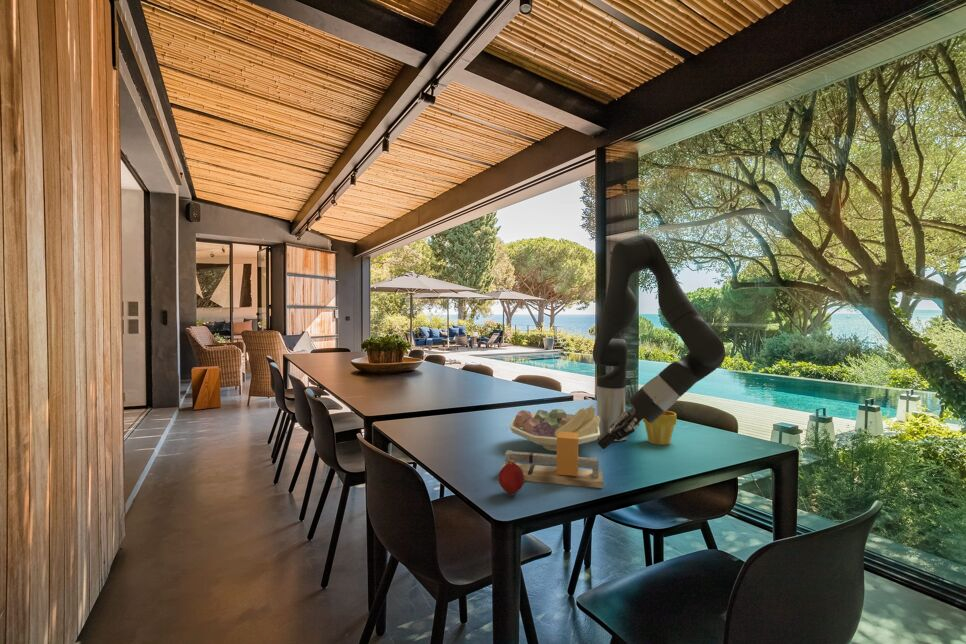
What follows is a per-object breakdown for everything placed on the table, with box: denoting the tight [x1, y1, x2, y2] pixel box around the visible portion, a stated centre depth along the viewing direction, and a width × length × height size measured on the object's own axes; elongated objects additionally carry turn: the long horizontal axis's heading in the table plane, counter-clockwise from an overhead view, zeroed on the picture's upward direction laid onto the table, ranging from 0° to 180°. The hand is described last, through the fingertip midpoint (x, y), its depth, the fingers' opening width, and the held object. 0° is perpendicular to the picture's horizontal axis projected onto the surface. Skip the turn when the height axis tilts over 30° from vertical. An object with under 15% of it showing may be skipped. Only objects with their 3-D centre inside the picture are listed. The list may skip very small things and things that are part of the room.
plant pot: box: [642, 410, 678, 446], centre depth 150 cm, size 10×10×10 cm
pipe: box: [504, 449, 600, 478], centre depth 116 cm, size 23×3×4 cm, turn 77°
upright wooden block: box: [555, 432, 579, 476], centre depth 115 cm, size 5×6×9 cm
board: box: [498, 462, 604, 489], centre depth 116 cm, size 25×8×2 cm, turn 77°
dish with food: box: [509, 404, 600, 452], centre depth 141 cm, size 28×28×14 cm
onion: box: [498, 460, 525, 496], centre depth 104 cm, size 6×6×8 cm
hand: (600, 445), depth 113 cm, fingers closed
